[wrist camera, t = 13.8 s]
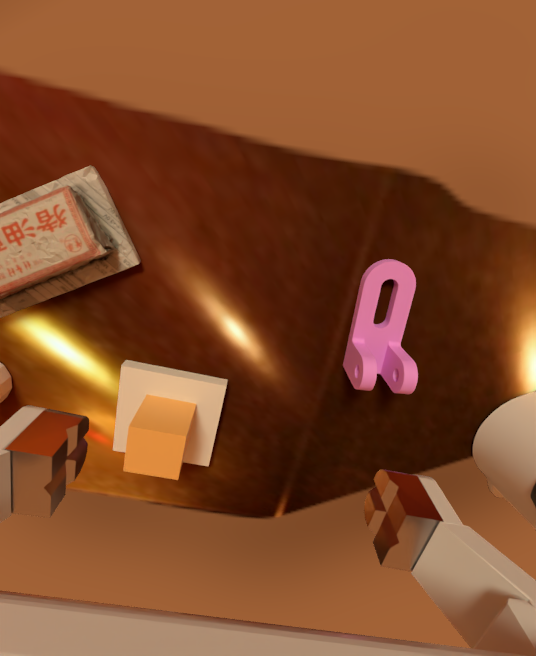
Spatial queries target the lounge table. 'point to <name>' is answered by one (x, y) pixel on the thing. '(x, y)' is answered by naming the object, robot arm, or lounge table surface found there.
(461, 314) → the lounge table surface
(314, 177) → the lounge table surface
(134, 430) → the solid orange cube
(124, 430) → the pin plate
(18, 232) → the packaged product
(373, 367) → the bracket
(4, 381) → the white cup
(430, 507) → the robot arm
